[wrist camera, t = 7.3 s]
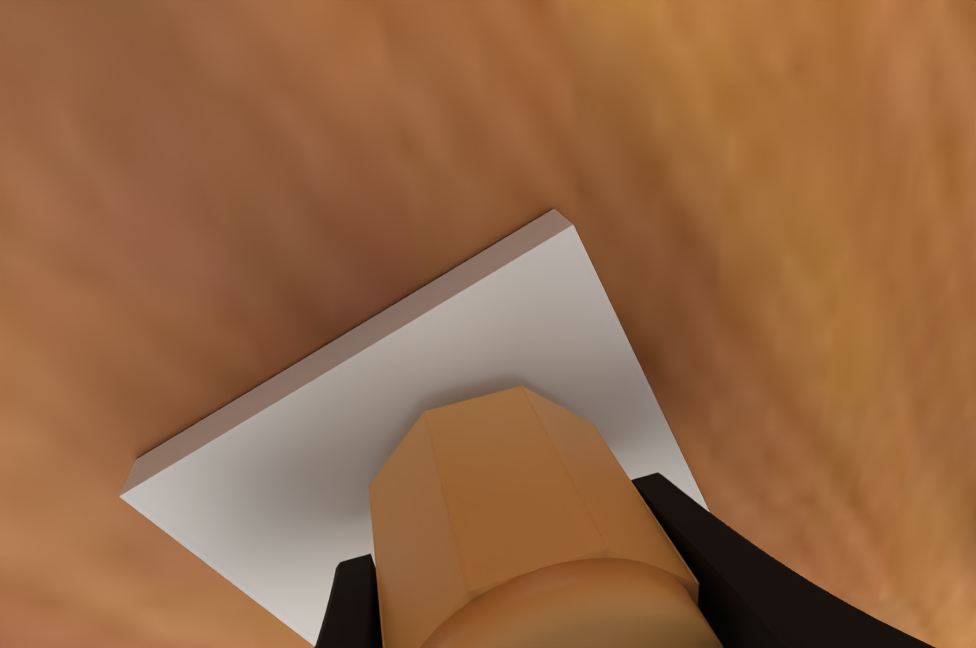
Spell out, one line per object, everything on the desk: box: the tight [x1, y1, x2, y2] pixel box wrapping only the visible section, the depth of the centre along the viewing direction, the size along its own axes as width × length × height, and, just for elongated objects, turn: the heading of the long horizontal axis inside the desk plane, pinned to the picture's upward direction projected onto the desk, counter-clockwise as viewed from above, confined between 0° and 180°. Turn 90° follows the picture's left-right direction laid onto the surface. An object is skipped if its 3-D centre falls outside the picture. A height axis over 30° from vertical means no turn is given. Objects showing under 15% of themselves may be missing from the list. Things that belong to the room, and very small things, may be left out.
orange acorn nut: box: [368, 386, 724, 648], centre depth 11 cm, size 5×5×6 cm
